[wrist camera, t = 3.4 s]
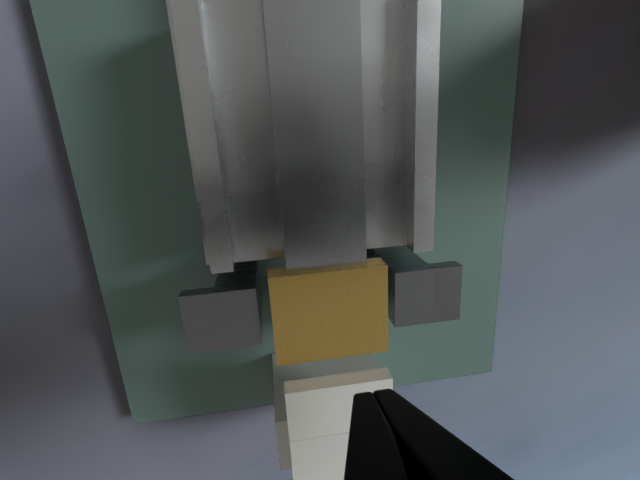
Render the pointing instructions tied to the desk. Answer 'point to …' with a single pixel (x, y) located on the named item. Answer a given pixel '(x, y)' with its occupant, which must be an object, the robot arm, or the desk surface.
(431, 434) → the robot arm
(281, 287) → the gold-ended metal bar
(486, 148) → the board
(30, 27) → the desk surface
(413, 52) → the grey rail mechanism
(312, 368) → the white block
